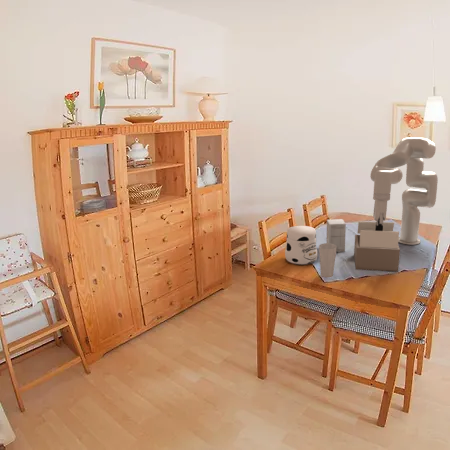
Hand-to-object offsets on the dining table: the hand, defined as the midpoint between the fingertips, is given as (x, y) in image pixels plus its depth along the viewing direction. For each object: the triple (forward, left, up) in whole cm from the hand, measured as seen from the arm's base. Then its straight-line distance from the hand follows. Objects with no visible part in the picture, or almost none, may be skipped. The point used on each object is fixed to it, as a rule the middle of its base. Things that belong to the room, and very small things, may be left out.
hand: (378, 232), depth 191 cm
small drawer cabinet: (-26, -20, -20) cm, 39 cm away
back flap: (-16, 0, -3) cm, 17 cm away
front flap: (+2, 0, -3) cm, 3 cm away
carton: (-8, 0, -20) cm, 21 cm away
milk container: (-5, -38, -20) cm, 43 cm away
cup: (+11, -24, -20) cm, 33 cm away
